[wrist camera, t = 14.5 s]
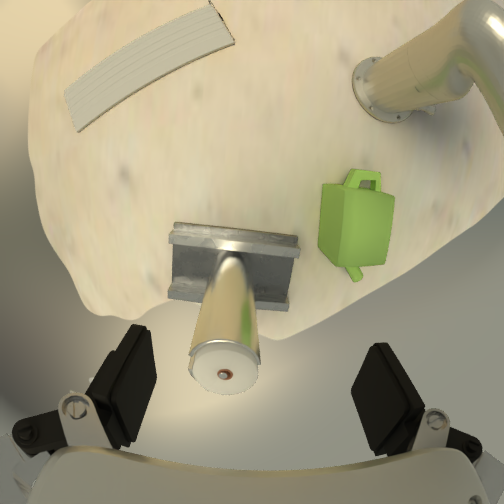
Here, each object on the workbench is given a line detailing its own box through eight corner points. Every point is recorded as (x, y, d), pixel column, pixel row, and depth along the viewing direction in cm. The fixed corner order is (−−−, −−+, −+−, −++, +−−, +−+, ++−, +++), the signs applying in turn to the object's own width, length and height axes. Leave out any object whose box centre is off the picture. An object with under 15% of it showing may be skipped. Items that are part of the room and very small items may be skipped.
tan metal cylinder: (228, 240, 43) (213, 333, 20) (259, 264, 45) (277, 371, 21) (204, 269, 45) (171, 377, 21) (235, 291, 46) (231, 408, 22)
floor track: (296, 235, 44) (301, 242, 41) (283, 305, 48) (286, 316, 45) (175, 221, 43) (169, 227, 39) (173, 292, 47) (167, 303, 43)
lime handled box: (363, 269, 47) (388, 292, 38) (314, 270, 47) (332, 296, 38) (376, 171, 41) (407, 176, 32) (323, 165, 41) (346, 168, 32)
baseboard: (65, 85, 34) (80, 132, 38) (56, 83, 32) (72, 131, 35) (208, 1, 31) (235, 45, 34) (206, -7, 28) (234, 38, 32)
